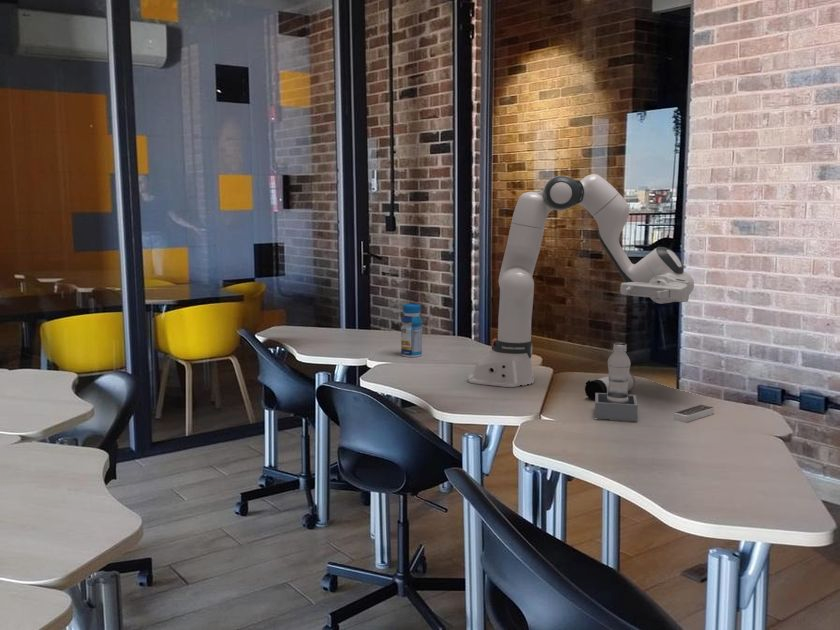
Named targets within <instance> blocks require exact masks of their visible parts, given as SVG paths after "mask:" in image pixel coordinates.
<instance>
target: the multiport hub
mask: <svg viewBox="0 0 840 630" xmlns="http://www.w3.org/2000/svg"><path fill="white" fill-rule="evenodd" d="M714 410H715V408H714V406H709V405H704V404H699V405H694V406H692V407H689V408H685V409H682V410H678V411H676V412H673V420H674V419H675V421H678V420H679V422H682V421H683V422H682V423H691V422H693V421H692V420H694V421H696V420H695V419H697V420H699V418H700V419H703V418H705V417H704V416H706V417H708V416H707V415H709V416H711V415H710V414H712V415H714V414H715V413H714ZM713 413H714V414H713ZM702 417H703V418H702Z"/></svg>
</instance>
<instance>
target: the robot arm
mask: <svg viewBox="0 0 840 630" xmlns="http://www.w3.org/2000/svg"><path fill="white" fill-rule="evenodd" d="M577 205H579V206H582V207H584V209H585V210H587V212H588V213H589V214H590V215H591V216H592V217H593V219H594V220H595V222H596V224H597V227H598V232H597V236H598V239H599V242H600V244H601V245H602V247H603V249H604V251H605V252H606V253H607V255H608V256H609V258H610V260H611V262H612V263H613V264H614V266H615V268H616V269H617V271H618V273H619V274H620V276H621V278H622V280H623V282H622V283H621V284H620V287H619V289H620V294H621V295H622V296H623V295H624V296H634V297H642V298H643V297H644V298H650V299H651V300H652V301H653V302H654V303H656V304H660V305H661V304H669V303H687V302H689V299H690V295H691V294H692V293H693V291H694V288H695V282H694V278H693V277H692V276H691V275H690V274H689V273H688V272H686V271H684V265H683V262H682V260H681V259H680V257H679V256H678V254H677V253H676V252H675V251H674V250H672V249H670V248H668V247H664V246H657V247H656V248H654V249H653V250H651V251H650V252H649V253H648V254H646V255H645V256H644V257H643V258H641V259H640V260H639V261H638V262H636V263H632V262H631V260H630V258H629V257H628V255H627V254H626V252H625V250H624V249H623V247H622V246H621V244H620V235H621V233H622V232H623V229H624V227H625V226H626V224H627V222H628V219H629V216H630V207H629V206H630V205H629V204H628V202H627V200H626V199H625V198H624V197H623V195H622V194H620V193H619V191H618V190H617V189H616V188H615V187H614V186H613V185H612V184H610V182H608V181H607V180H606V179H604V178H603V177H602V176H601V175H599V174H597V173H591V174H588V175H586V176H584V177H583V178H582V179H580V180H577V179H575V178H571V177H569V176H565V175H557V176H553V177H552V178H550V179H549V180H548V181H547V182H546V183H545V184H544V187H543V188H542V189H541V190H540V191H537V192H536V191H527V192H524V193H522V194H521V195H520V196H519V197H518V200H517V202H516V204H515V208H514V211H513V214H512V217H511V223H510V227H509V231H508V237H507V241H506V242H507V243H506V246H505V251H504V253H503V254H504V255H503V259H502V262H501V266H500V272H499V276H498V287H499V304H498V319H497V320H498V321H497V322H498V323H497V327H498V328H497V338H496V337H495V338H493V339H491V350H490V351H489V352H488V353H485V355H483V356H481V357H480V358H479V359H478V360H477V362H476V363H475V367H474V371H473V372H472V373H470V374H469V375H468V376H467V382H469V384H477V385H485V386H486V385H487V386H493V387H494V386H495V387H503V388H516V387H520V385H522V386H528V385H527V384H529V385H531V383H532V384H534V383H535V379H534V375H533V368H532V356H533V341H532V337H531V336H532V319H533V318H532V317H533V306H534V295H535V294H534V290H535V281H534V278H533V276H534V272H535V269H536V265H537V261H538V257H539V254H540V251H541V247H542V241H543V237H544V233H545V228H546V222H547V218H548V217H549V214H550V212H551V211H566V210H568V209H570V208H572V207H574V206H577ZM533 382H534V383H533Z"/></svg>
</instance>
